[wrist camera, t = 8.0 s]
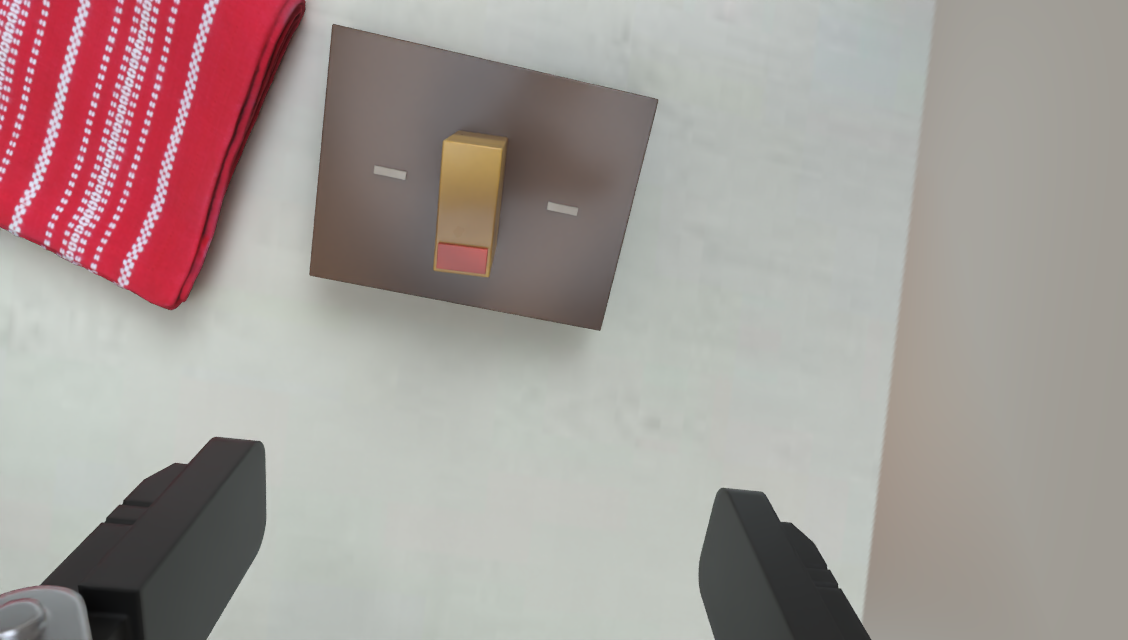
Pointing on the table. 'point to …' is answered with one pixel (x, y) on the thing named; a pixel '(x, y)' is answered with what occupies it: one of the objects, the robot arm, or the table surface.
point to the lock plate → (530, 188)
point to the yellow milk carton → (469, 203)
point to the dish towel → (131, 127)
